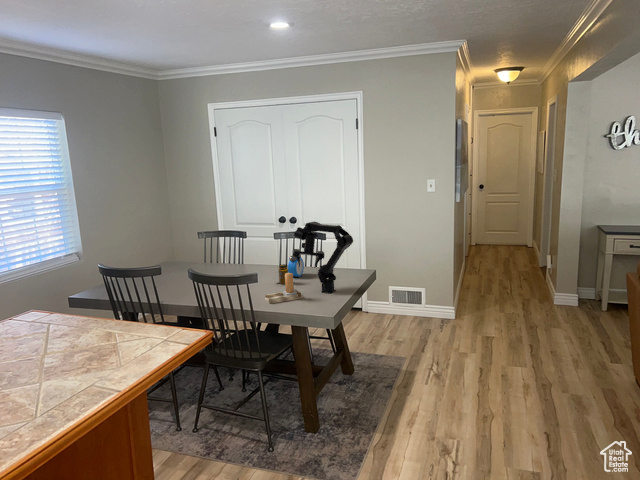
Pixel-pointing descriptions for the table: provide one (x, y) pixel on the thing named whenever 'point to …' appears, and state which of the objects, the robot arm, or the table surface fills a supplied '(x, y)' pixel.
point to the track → (282, 297)
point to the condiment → (282, 274)
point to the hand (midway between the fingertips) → (307, 267)
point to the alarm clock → (295, 266)
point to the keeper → (289, 285)
